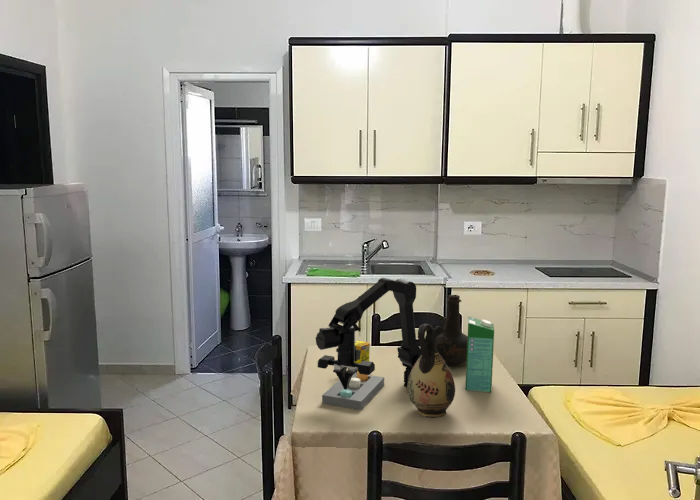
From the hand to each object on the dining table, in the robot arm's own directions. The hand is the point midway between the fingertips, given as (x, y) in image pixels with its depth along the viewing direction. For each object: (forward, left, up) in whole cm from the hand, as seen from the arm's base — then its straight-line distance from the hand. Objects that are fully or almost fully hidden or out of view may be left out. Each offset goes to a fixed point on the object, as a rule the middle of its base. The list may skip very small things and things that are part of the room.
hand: (345, 389), depth 203 cm
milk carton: (-39, -32, -5) cm, 51 cm away
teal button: (0, 0, -4) cm, 4 cm away
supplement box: (+7, -31, -5) cm, 32 cm away
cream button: (0, -8, -3) cm, 9 cm away
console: (0, -8, -5) cm, 9 cm away
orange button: (0, -16, -3) cm, 16 cm away
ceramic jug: (-28, -3, -5) cm, 29 cm away
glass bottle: (-24, -54, -5) cm, 59 cm away
